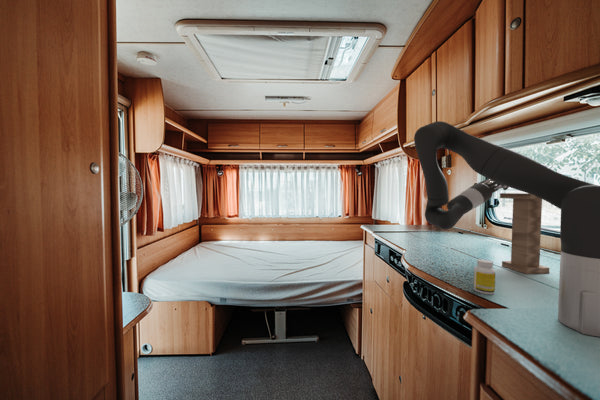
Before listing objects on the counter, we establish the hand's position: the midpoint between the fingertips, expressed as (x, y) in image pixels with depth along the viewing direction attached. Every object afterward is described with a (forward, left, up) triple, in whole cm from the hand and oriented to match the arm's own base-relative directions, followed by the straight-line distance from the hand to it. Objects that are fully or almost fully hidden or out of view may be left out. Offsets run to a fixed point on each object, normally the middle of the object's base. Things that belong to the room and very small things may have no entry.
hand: (508, 175), depth 96 cm
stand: (+4, -8, -38) cm, 39 cm away
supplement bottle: (-28, +14, -39) cm, 50 cm away
